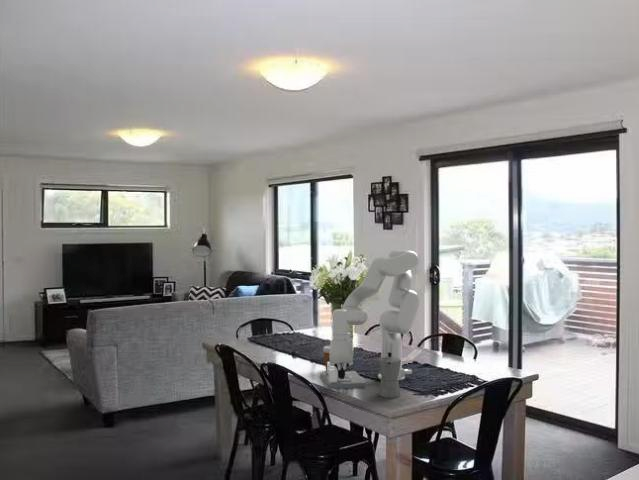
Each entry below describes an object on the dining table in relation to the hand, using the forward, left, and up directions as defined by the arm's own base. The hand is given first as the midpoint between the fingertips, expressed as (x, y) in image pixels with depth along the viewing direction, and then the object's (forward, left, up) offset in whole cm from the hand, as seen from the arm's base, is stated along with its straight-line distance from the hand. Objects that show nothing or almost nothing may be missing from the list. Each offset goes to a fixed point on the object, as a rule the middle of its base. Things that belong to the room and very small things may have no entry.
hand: (341, 378), depth 270 cm
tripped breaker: (+4, 0, -1) cm, 4 cm away
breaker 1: (+2, -14, -1) cm, 14 cm away
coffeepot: (-18, +16, -4) cm, 24 cm away
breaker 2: (+2, -7, -1) cm, 8 cm away
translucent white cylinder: (-39, -38, -4) cm, 55 cm away
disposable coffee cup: (-1, -27, -4) cm, 27 cm away
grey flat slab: (-2, -7, -4) cm, 8 cm away
